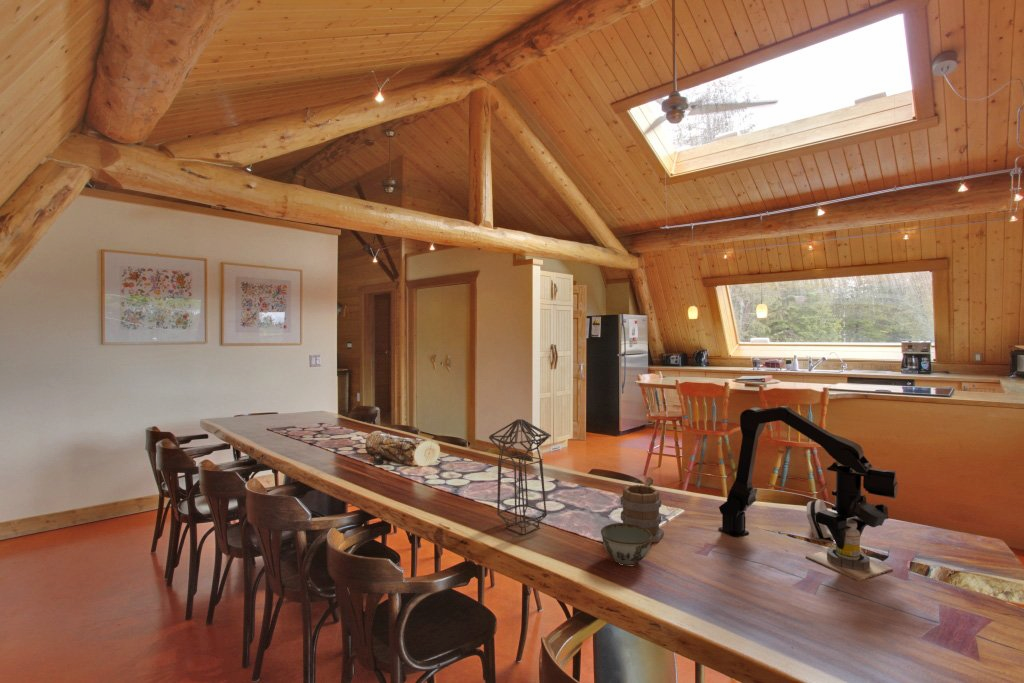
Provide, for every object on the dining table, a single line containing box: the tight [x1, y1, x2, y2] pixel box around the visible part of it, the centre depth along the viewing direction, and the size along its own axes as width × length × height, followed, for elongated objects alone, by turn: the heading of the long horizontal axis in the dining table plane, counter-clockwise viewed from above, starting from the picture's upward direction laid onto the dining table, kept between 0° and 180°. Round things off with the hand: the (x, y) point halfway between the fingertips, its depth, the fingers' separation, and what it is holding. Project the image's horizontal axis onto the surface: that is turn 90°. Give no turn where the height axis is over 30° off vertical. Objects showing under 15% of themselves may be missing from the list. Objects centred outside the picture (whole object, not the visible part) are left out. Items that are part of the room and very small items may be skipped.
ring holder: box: [805, 546, 894, 582], centre depth 131 cm, size 14×14×2 cm
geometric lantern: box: [488, 418, 552, 535], centre depth 156 cm, size 16×16×35 cm
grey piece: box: [806, 499, 834, 541], centre depth 154 cm, size 17×5×10 cm, turn 143°
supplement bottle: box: [835, 519, 861, 560], centre depth 131 cm, size 5×5×10 cm
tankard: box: [620, 476, 665, 543], centre depth 154 cm, size 20×13×15 cm, turn 148°
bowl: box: [600, 522, 652, 566], centre depth 133 cm, size 14×13×8 cm
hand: (847, 546), depth 131 cm, fingers closed on supplement bottle, 5 cm apart
